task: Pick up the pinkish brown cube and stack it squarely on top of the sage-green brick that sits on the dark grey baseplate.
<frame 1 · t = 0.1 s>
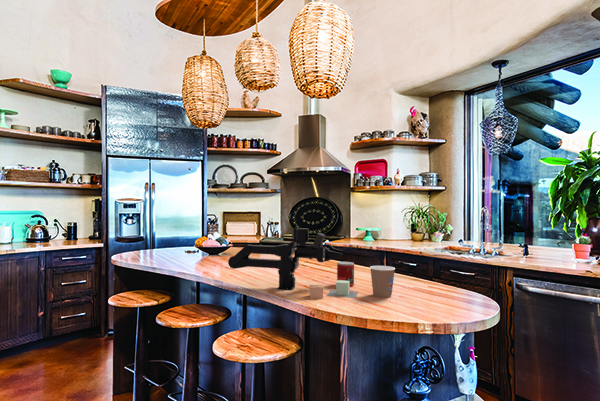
hand: (343, 253, 159), 17 cm above the table, tool horizontal, fingers open, 9 cm apart
baseplate: (342, 295, 153), on the table
brick green: (342, 293, 153), point 1 cm above the table, touching baseplate
canned food: (345, 287, 170), on the table
coffee cup: (382, 297, 151), on the table
pinkish brown cube: (316, 298, 146), on the table
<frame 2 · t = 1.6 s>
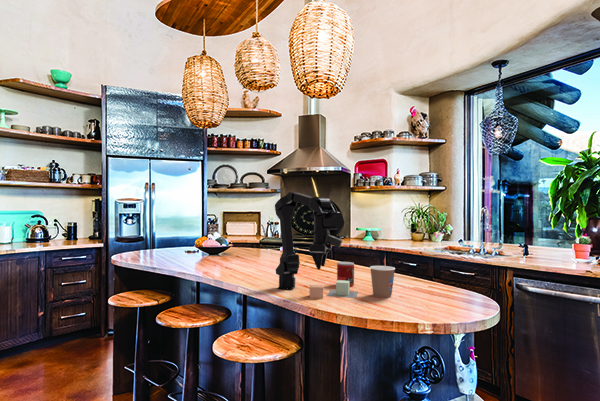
hand: (320, 267, 147), 12 cm above the table, tool pointing down, fingers open, 9 cm apart
nothing on the table moved.
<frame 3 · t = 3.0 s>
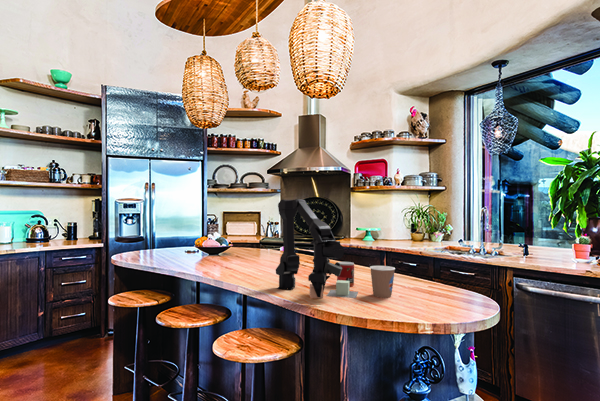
hand: (320, 295, 147), 1 cm above the table, tool pointing down, fingers closed on pinkish brown cube, 5 cm apart
pinkish brown cube: (316, 298, 147), on the table, touching gripper
everything else where it was.
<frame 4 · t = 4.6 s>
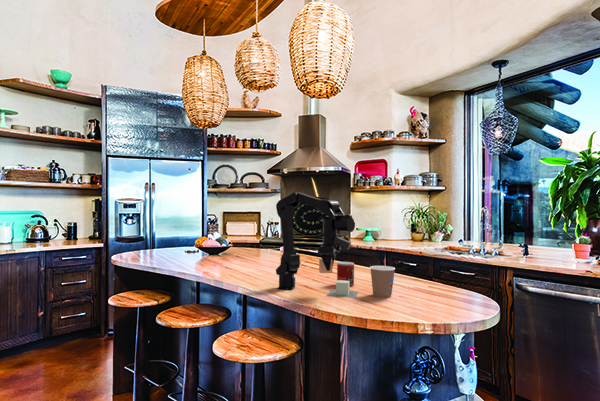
hand: (329, 269, 149), 11 cm above the table, tool pointing down, fingers closed on pinkish brown cube, 5 cm apart
pinkish brown cube: (325, 272, 149), point 10 cm above the table, touching gripper
everything else where it was.
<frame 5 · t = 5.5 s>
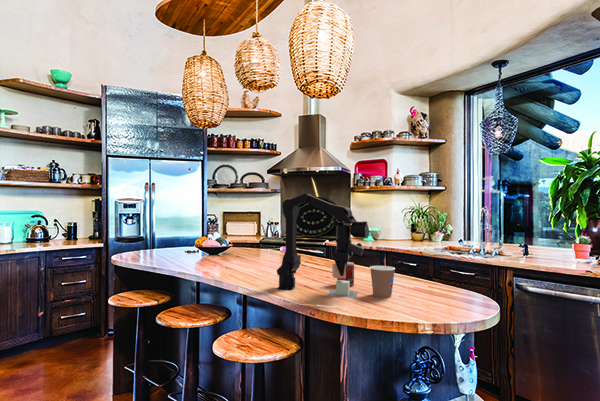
hand: (342, 274, 153), 8 cm above the table, tool pointing down, fingers closed on pinkish brown cube, 5 cm apart
pinkish brown cube: (338, 277, 153), point 7 cm above the table, touching gripper
everything else where it was.
when the fingers open (8 cm above the table, at t = 6.1 s): pinkish brown cube drops 1 cm, resting on brick green.
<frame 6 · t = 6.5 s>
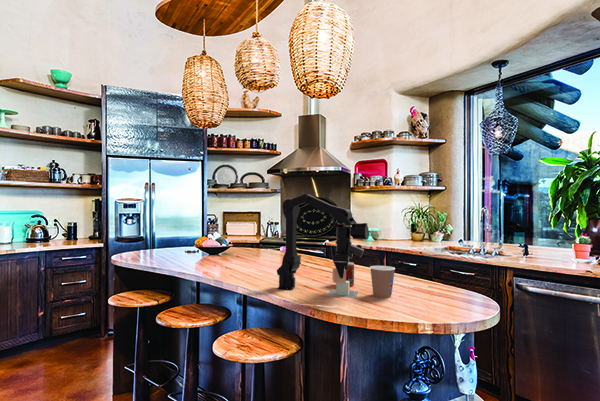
hand: (342, 276, 153), 8 cm above the table, tool pointing down, fingers open, 9 cm apart
brick green: (342, 293, 153), point 1 cm above the table, touching baseplate, pinkish brown cube
pinkish brown cube: (339, 281, 153), point 6 cm above the table, touching brick green
everything else where it was.
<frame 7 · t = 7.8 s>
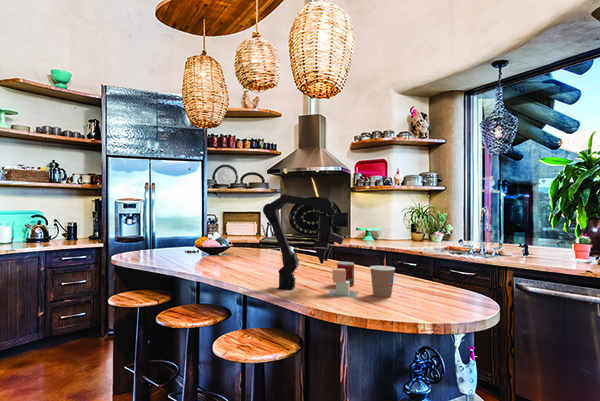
hand: (323, 262, 162), 12 cm above the table, tool pointing down, fingers open, 9 cm apart
nothing on the table moved.
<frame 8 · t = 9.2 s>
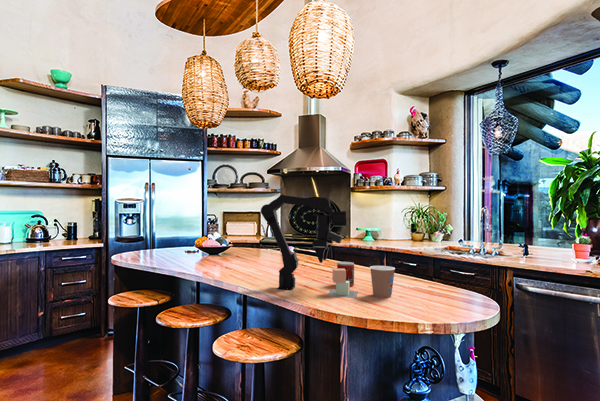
hand: (322, 261, 163), 13 cm above the table, tool pointing down, fingers open, 9 cm apart
nothing on the table moved.
at the end: pinkish brown cube 1.6 cm off-centre on the brick green, point 5.0 cm above the brick green's base; pinkish brown cube tilted 0°; the gripper is holding nothing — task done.
